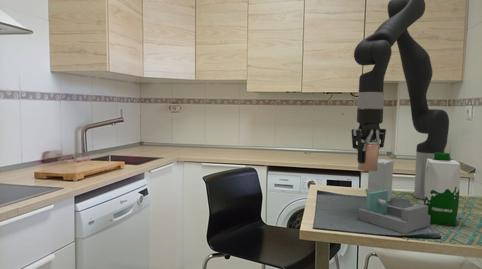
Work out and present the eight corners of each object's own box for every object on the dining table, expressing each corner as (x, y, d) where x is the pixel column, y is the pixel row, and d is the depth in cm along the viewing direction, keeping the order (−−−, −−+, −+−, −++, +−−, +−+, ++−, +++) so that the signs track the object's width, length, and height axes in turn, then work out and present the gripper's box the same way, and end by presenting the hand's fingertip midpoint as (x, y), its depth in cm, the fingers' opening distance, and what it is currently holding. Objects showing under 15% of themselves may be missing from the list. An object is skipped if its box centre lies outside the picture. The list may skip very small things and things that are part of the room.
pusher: (383, 212, 110) (384, 189, 110) (392, 214, 108) (393, 191, 107) (365, 216, 106) (366, 193, 105) (375, 219, 103) (376, 195, 102)
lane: (382, 212, 113) (383, 194, 112) (430, 226, 100) (431, 205, 100) (357, 218, 106) (358, 199, 105) (404, 233, 93) (405, 211, 93)
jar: (365, 167, 114) (366, 140, 113) (381, 170, 109) (382, 142, 109) (354, 169, 111) (355, 141, 110) (369, 171, 106) (370, 143, 105)
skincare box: (375, 197, 132) (377, 158, 131) (392, 201, 128) (394, 160, 127) (366, 201, 126) (367, 160, 125) (383, 205, 122) (385, 162, 121)
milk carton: (453, 218, 108) (457, 153, 106) (459, 227, 99) (464, 156, 98) (421, 215, 111) (424, 151, 109) (424, 223, 102) (428, 154, 101)
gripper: (374, 107, 116) (371, 159, 117) (344, 107, 108) (342, 162, 109) (395, 108, 109) (392, 162, 111) (365, 107, 101) (363, 165, 103)
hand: (367, 162), depth 110 cm, fingers closed on jar, 5 cm apart
